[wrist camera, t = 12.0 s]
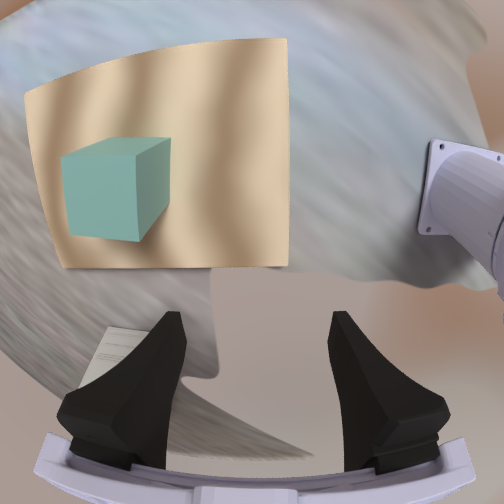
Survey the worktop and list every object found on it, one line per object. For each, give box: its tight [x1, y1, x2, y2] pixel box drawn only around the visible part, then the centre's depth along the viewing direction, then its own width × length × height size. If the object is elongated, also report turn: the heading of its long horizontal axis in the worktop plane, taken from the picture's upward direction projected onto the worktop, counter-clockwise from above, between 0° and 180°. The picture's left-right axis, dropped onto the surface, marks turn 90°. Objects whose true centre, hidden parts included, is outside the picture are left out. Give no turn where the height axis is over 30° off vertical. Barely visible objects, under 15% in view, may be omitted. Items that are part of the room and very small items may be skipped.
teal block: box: [61, 137, 171, 242], centre depth 16 cm, size 4×4×6 cm
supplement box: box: [78, 326, 175, 407], centre depth 24 cm, size 7×7×13 cm
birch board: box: [24, 38, 290, 268], centre depth 19 cm, size 20×16×2 cm
